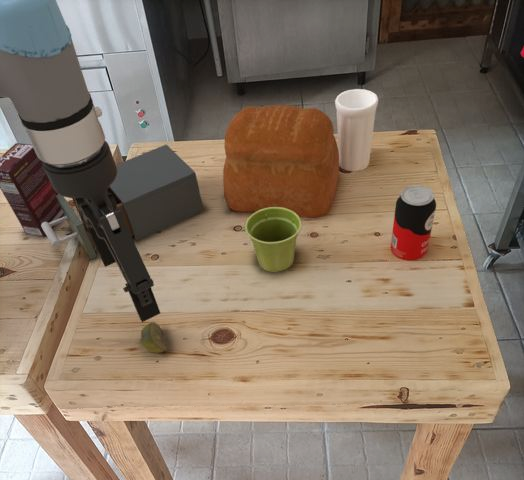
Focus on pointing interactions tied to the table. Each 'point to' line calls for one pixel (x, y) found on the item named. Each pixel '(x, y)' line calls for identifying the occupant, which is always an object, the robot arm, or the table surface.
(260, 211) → the plant pot
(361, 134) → the cup
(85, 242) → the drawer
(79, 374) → the table surface
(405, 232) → the beverage can
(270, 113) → the bread
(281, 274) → the table surface
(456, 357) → the table surface
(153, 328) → the green rock
